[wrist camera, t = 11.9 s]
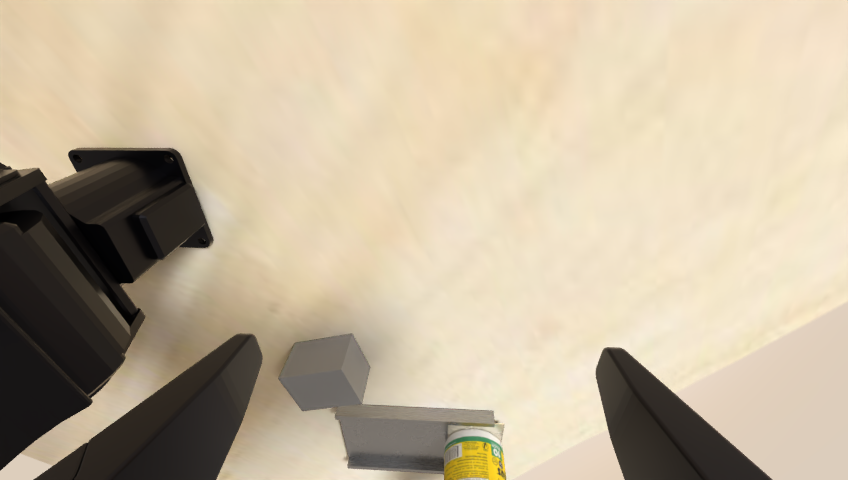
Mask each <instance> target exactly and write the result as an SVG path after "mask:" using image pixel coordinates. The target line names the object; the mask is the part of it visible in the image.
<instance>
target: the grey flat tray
mask: <svg viewBox="0 0 848 480" xmlns="http://www.w3.org/2000/svg"><path fill="white" fill-rule="evenodd" d="M335 419H337V420H340V423H341V427H342V431H343V436H344V440H345V444H346V448H347V452H348V456H349V461H348V465H347V466H348V468H352V469H369V470H386V471H403V472H420V473H437V474H444V452H445V443H446V440H447V439H448V438H449V437H450V436H451V435H452V434H454V433H455V432H458V431H461V430H466V429H478V430H483V431H487V432H489V433H491V434H492V435H494V436H495V437H496V438H498V439H499V441H500V442H502V436H503V430H504V425H505V424H504V423H495V421H494V412H493V411H482V410H461V409H440V408H419V407H398V406H376V405H349V406H340V407H337V411H336V414H335Z"/></svg>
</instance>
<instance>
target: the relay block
mask: <svg viewBox="0 0 848 480" xmlns="http://www.w3.org/2000/svg"><path fill="white" fill-rule="evenodd" d="M369 370H370V366H369V364H368V362H367V360H366V358H365V356H364V354H363V352H362V351H361V349H360V347H359V345H358V343H357V341H356V339H355V338H354V336H353V334H346V335H340V336H334V337H328V338H322V339H316V340H309V341H303V342H297V343H295V344H294V346H293V348H292V350H291V352H290V355H289V357H288V359H287V361H286V363H285V365H284V367H283V369H282V371H281V374H280V376H279V378H278V379H279V380H280V382H281V383H282V384H283V386H284V387H285V388H286V390H287V391H288V392H289V394H290V395H291V396H292V398H293V399H294V400H295V402H296V403H297V404H298V406H299V407H300V408H301V410H302V411H307V410H316V409H324V408H332V407H340V406H349V405H357V404H362V401H363V397H364V392H365V388H366V384H367V379H368V375H369Z"/></svg>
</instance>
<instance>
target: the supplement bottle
mask: <svg viewBox="0 0 848 480" xmlns="http://www.w3.org/2000/svg"><path fill="white" fill-rule="evenodd" d="M444 480H506V473H505V465H504V456H503V449H502V445H501V442H500V441H499V439H498V438H496V437H495V436H494V435H492V434H491V433H489V432H487V431H483V430H478V429H466V430H461V431H458V432H455V433H454V434H452V435H451V436H450V437H449V438H448V439H447V440H446V443H445V452H444Z"/></svg>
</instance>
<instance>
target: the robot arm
mask: <svg viewBox="0 0 848 480" xmlns="http://www.w3.org/2000/svg"><path fill="white" fill-rule="evenodd" d="M169 155H170V156H171V157H172V158H173V160H171V159H170V158H169ZM68 156H69V159H70V161H71V162H72V164H73V166H74V168H75V169H76V171H77V173H75V174H73V175H71V176H68V177H66V178H63V179H61V180H59V181H56V182H54V183H52V184H49V185H48V184H47V183H46V182H45V181H46V180H47V179H46V177H45V176H44V174H43V173H42V172H41V170H40V169H39V168H32V169H23V170H12V168H11V167H10V166H5V165H3V164H2V163H0V470H2V469H3V467H5V466H6V465H7V464H8V463H9V462H10V461H12V460H13V459H14V458H15V457H16V456H17V455H19V454H20V453H21V452H22V451H23V450H25V449H26V448H27V447H28V446H29V445H31V444H32V443H33V442H34V441H35V440H37V439H38V438H40V437H41V436H42V435H44V434H45V433H47V432H48V431H50V430H51V429H52V428H54V427H55V426H57V425H58V424H59V423H61V422H63V421H64V420H66V419H68V418H70V417H71V416H73V415H75V414H77V413H78V412H80V411H82V410H84V409H85V408H87V407H89V406H90V405H91V404H92V402H93V400H92V399H91V397H93V396H94V395H95V394H96V393H97V392H99V391H100V390H101V389H102V388H103V387H104V386H105V385H106V383H107V382H108V381H109V380H110V379H111V377H112V376H113V375H114V374H115V372H116V371H117V370H118V369H119V368H120V367H121V365H122V364H123V362H124V360H125V358H126V357H125V353H126V351H127V349H128V347H129V346H130V344H131V342H132V340H133V339H134V337H135V335H136V333H137V331H138V330H139V328H140V326H141V324H142V322H143V321H144V319H145V315H144V313H143V312H142V311H141V309H140V308H137V307H136V306H135V305H134V303H133V302H132V300H131V299H130V298H129V296H128V295H127V294H126V292H125V291H124V289H123V288H122V287H121V286H122V285H123V284H125V283H133V282H134V281H136V280H137V279H138V278H139V277H140V276H141V275H143V274H144V273H145V272H146V271H147V270H149V269H150V268H151V267H152V266H153V265H155V264H156V263H157V262H158V261H159V260H163V259H165V258H166V257H167V256H169V255H170V254H171V253H172V252H173V251H174V250H176V249H177V248H178V247H195V248H206V247H208V246H210V245H211V244H212V243H213V237H212V235H211V232H210V229H209V227H208V224H207V222H206V219H205V216H204V214H203V211H202V209H201V206H200V203H199V201H198V198H197V196H196V193H195V190H194V188H193V185H192V183H191V180H190V177H189V175H188V172H187V170H186V167H185V164H184V162H183V159H182V157H181V155H180V153H179V152H178V151H176V150H174V149H171V148H77V149H74V150H71V151H70V152H69V153H68ZM80 157H81V158H82V159H81V158H80ZM202 238H203V239H205V241H204V240H203V239H202ZM261 364H262V353H261V350H260V347H259V345H258V342H257V339H256V337H255V336H254V335H253V334H243V333H240V334H236V335H235V336H233V337H232V338H230V339H229V340H228V341H226V342H225V343H224V344H222V345H221V346H219V347H218V348H217V349H215V350H214V351H212V352H211V353H210V354H208V355H207V356H205V357H204V358H203V359H201V360H200V361H199V362H197V363H196V364H194V365H193V366H192V367H190V368H189V369H187V370H186V371H185V372H183V373H182V374H181V375H179V376H178V377H176V378H175V379H174V380H172V381H171V382H169V383H168V384H167V385H165V386H164V387H163V388H161V389H160V390H158V391H157V392H156V393H154V394H153V395H151V396H150V397H149V398H147V399H146V400H144V401H143V402H142V403H140V404H139V405H138V406H136V407H135V408H133V409H132V410H131V411H129V412H128V413H126V414H125V415H124V416H122V417H121V418H120V419H118V420H117V421H115V422H114V423H113V424H111V425H110V426H108V427H107V428H106V429H104V430H103V431H102V432H100V433H99V434H97V435H96V436H95V437H93V438H92V439H90V440H89V442H88V443H85V444H83V445H82V446H81V447H79V448H78V449H76V450H75V451H74V452H72V453H71V454H69V455H68V456H67V457H65V458H64V459H62V460H61V461H60V462H58V463H57V464H55V465H54V466H52V467H51V468H50V469H48V470H47V471H45V472H44V473H42V474H41V475H40V476H38V477H37V478H35V479H34V480H216V479H217V477H218V474H219V472H220V470H221V468H222V465H223V463H224V461H225V459H226V457H227V454H228V452H229V450H230V448H231V445H232V443H233V441H234V439H235V436H236V434H237V432H238V430H239V427H240V425H241V423H242V420H243V418H244V415H245V412H246V409H247V406H248V403H249V400H250V397H251V394H252V391H253V388H254V385H255V382H256V379H257V376H258V373H259V370H260V367H261ZM596 379H597V384H598V388H599V392H600V396H601V401H602V405H603V409H604V413H605V417H606V422H607V426H608V430H609V434H610V438H611V441H612V444H613V447H614V450H615V453H616V456H617V459H618V462H619V465H620V467H621V470H622V473H623V476H624V479H625V480H772V479H771V478H770V477H769V476H768V475H767V474H766V473H764V472H763V471H762V470H761V469H760V468H759V467H758V466H756V465H755V464H754V463H753V462H752V461H751V460H749V459H748V458H747V457H746V456H745V455H744V454H743V453H742V452H740V451H739V450H738V449H737V448H736V447H735V446H734V445H732V444H731V443H730V442H729V441H728V440H727V439H726V438H724V437H723V436H722V435H721V434H720V433H718V431H716V430H715V429H714V428H713V427H712V426H711V425H710V424H708V423H707V422H706V421H705V420H704V419H703V418H702V417H701V416H699V415H698V414H697V413H696V412H695V411H693V409H691V408H690V407H689V406H688V405H687V404H686V403H684V402H683V401H682V400H681V399H680V398H679V397H678V396H677V395H676V394H674V393H673V392H672V391H671V390H670V389H669V388H668V387H666V386H665V385H664V384H663V383H662V382H661V381H660V380H658V379H657V378H656V377H655V376H654V375H653V374H652V373H650V372H649V371H648V370H647V369H646V368H645V367H644V366H642V365H641V364H640V363H639V362H638V361H637V360H636V359H634V358H633V357H632V356H631V355H630V354H629V353H628V352H627V351H625V350H624V349H622V348H614V347H606V348H604V349H603V351H602V354H601V356H600V359H599V362H598V365H597V367H596Z"/></svg>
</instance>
